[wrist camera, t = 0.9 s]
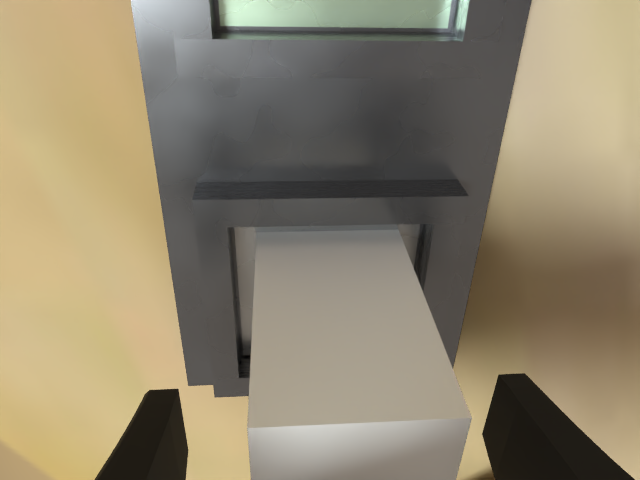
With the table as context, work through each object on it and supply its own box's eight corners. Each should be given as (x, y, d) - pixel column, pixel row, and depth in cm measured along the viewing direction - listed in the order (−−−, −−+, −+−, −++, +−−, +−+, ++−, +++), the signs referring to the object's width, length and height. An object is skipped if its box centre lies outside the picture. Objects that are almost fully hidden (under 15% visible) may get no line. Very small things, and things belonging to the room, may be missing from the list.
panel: (583, -357, 10) (647, -410, 8) (444, 354, 20) (460, 397, 18) (86, -391, 9) (45, -456, 8) (192, 364, 19) (184, 409, 17)
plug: (398, 229, 15) (486, 456, 9) (386, 336, 17) (450, 580, 11) (256, 232, 15) (245, 468, 9) (261, 340, 17) (255, 593, 11)
